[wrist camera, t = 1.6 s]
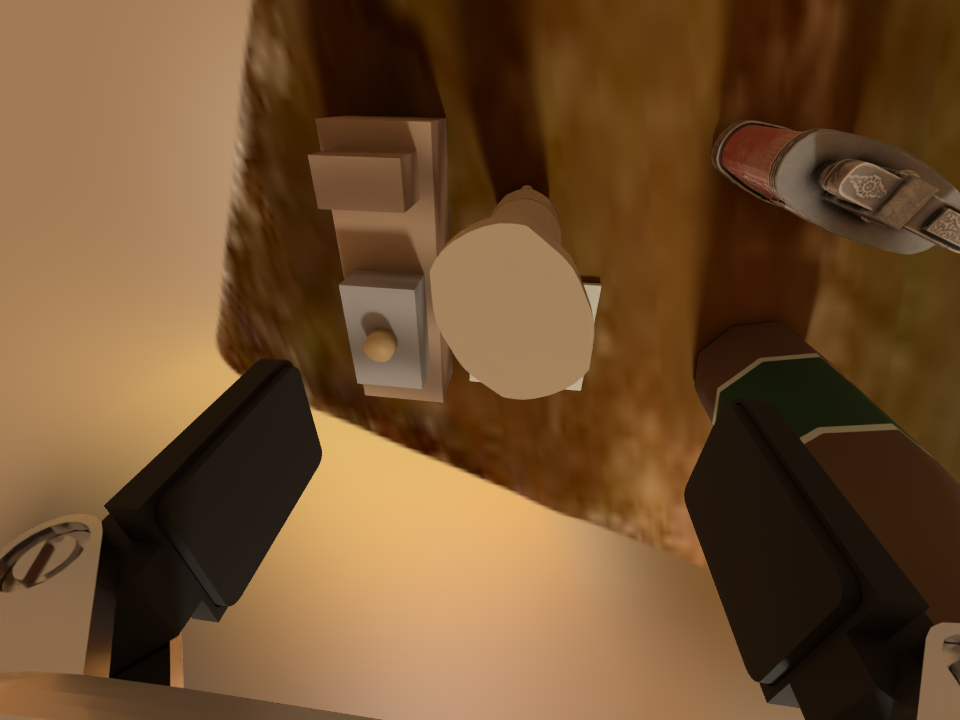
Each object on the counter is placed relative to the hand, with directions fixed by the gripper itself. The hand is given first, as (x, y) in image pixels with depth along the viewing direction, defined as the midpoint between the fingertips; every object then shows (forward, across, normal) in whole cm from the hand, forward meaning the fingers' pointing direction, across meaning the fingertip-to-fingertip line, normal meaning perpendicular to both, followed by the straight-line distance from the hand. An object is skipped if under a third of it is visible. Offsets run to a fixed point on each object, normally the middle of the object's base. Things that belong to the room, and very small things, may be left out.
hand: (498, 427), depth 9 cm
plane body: (+20, +8, +4) cm, 22 cm away
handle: (+20, 0, 0) cm, 20 cm away
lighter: (+20, -14, -3) cm, 25 cm away
